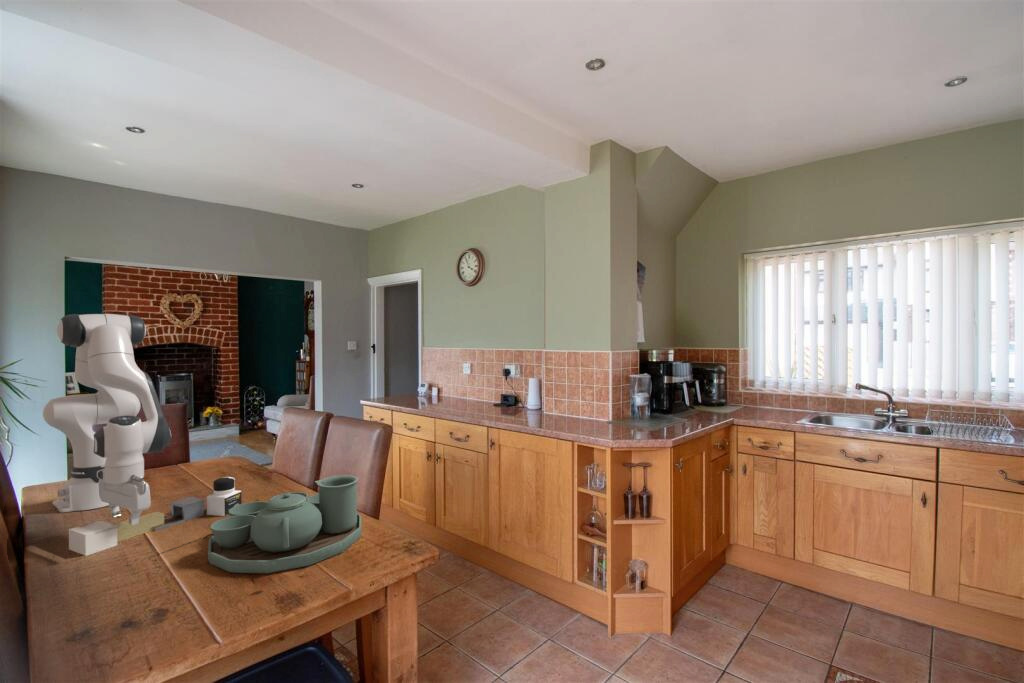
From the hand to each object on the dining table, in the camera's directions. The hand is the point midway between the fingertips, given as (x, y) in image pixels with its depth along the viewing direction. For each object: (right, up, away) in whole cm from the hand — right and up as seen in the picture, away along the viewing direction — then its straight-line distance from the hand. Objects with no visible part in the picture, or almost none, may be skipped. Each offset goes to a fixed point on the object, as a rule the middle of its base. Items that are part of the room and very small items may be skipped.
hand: (124, 520), depth 136 cm
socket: (-3, -6, -7) cm, 9 cm away
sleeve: (+6, -5, +11) cm, 14 cm away
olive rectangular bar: (+1, -4, +1) cm, 5 cm away
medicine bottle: (+17, -6, +19) cm, 26 cm away
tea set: (+48, -6, -1) cm, 48 cm away
